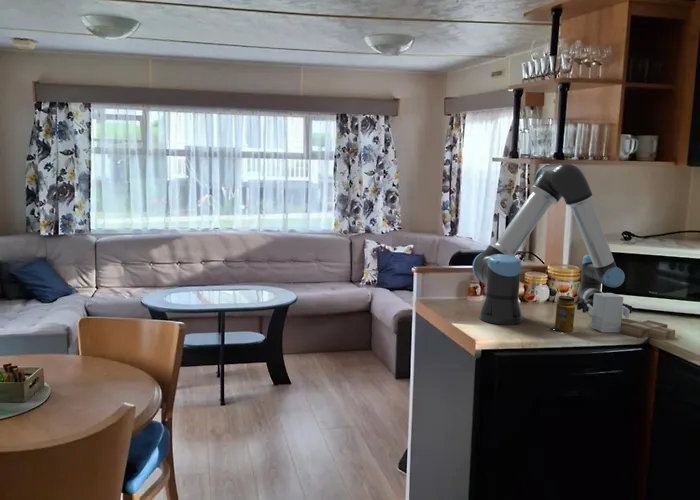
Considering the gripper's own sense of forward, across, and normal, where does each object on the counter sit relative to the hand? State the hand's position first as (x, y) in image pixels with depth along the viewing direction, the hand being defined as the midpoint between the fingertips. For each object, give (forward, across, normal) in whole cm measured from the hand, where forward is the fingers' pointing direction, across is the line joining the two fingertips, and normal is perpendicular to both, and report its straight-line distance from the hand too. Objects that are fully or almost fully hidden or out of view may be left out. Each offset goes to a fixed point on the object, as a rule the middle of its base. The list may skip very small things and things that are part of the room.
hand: (609, 312), depth 224 cm
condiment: (+2, +16, -7) cm, 18 cm away
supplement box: (-4, 0, -7) cm, 8 cm away
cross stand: (-4, -13, -7) cm, 15 cm away
